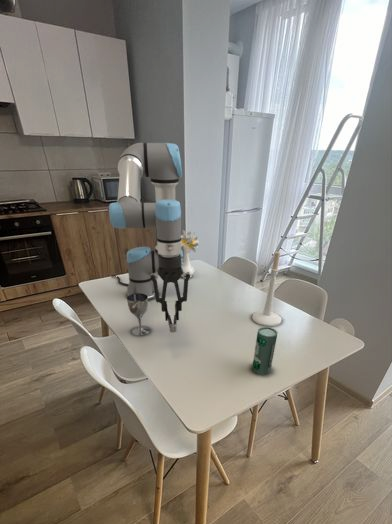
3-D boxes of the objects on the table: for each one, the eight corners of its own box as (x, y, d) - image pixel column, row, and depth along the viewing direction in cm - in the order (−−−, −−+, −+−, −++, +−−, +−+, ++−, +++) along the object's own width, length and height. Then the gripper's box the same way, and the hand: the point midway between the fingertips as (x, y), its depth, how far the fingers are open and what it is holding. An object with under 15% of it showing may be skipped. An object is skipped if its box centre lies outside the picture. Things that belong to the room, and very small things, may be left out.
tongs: (181, 332, 101) (181, 324, 100) (165, 333, 101) (164, 325, 99) (178, 307, 117) (178, 300, 115) (163, 307, 116) (163, 300, 115)
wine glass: (134, 337, 118) (130, 303, 110) (128, 328, 124) (124, 295, 116) (153, 333, 122) (150, 299, 113) (146, 324, 127) (143, 291, 119)
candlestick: (246, 319, 133) (254, 251, 116) (262, 310, 141) (272, 245, 124) (271, 329, 126) (284, 258, 109) (286, 318, 134) (300, 251, 117)
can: (253, 362, 106) (259, 325, 97) (271, 365, 104) (278, 328, 96) (251, 372, 101) (256, 334, 92) (269, 376, 99) (276, 338, 91)
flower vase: (184, 283, 167) (184, 237, 153) (171, 273, 180) (169, 230, 167) (204, 280, 172) (206, 235, 158) (190, 270, 186) (190, 228, 172)
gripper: (143, 258, 91) (149, 324, 104) (196, 257, 93) (195, 322, 106) (144, 251, 97) (149, 314, 111) (193, 250, 99) (193, 313, 112)
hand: (172, 318), depth 108 cm, fingers closed on tongs, 3 cm apart
